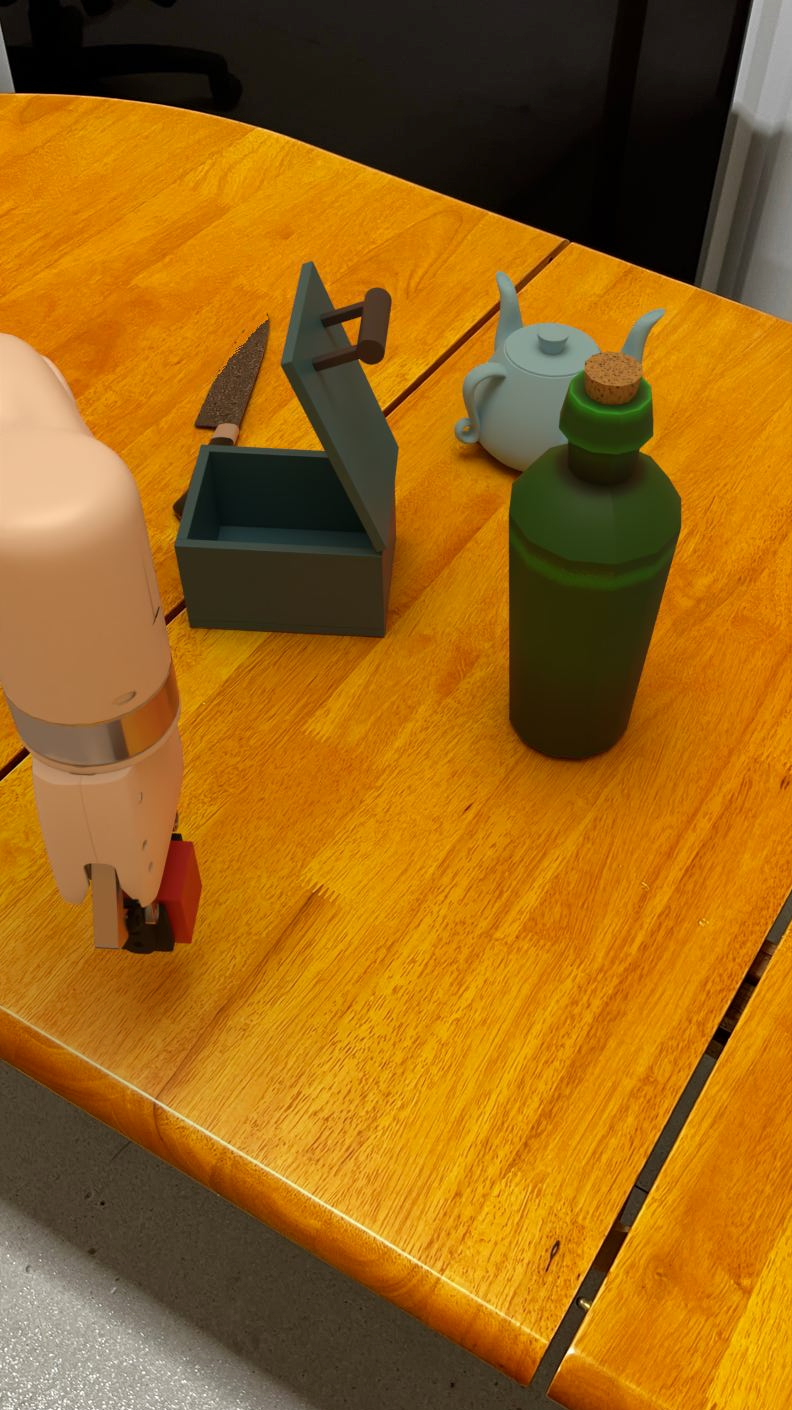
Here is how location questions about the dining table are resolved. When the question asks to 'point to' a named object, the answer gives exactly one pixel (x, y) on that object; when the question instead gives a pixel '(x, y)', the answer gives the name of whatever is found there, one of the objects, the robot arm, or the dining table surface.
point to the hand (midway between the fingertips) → (154, 909)
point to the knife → (230, 396)
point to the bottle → (588, 564)
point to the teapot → (530, 381)
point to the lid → (345, 394)
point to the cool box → (279, 546)
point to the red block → (180, 889)
